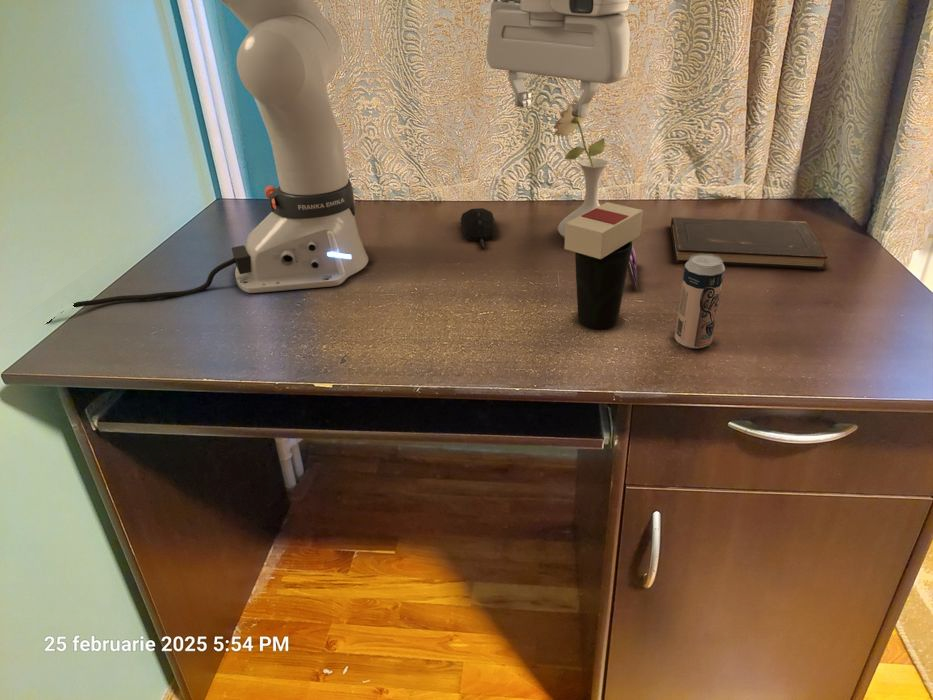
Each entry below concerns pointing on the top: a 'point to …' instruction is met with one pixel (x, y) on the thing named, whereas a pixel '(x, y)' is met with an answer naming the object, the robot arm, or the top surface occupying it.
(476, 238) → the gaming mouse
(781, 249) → the hardcover book
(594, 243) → the packet
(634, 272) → the purple toy figure frame
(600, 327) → the cup
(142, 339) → the top surface
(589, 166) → the flower in vase
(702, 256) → the beer can
